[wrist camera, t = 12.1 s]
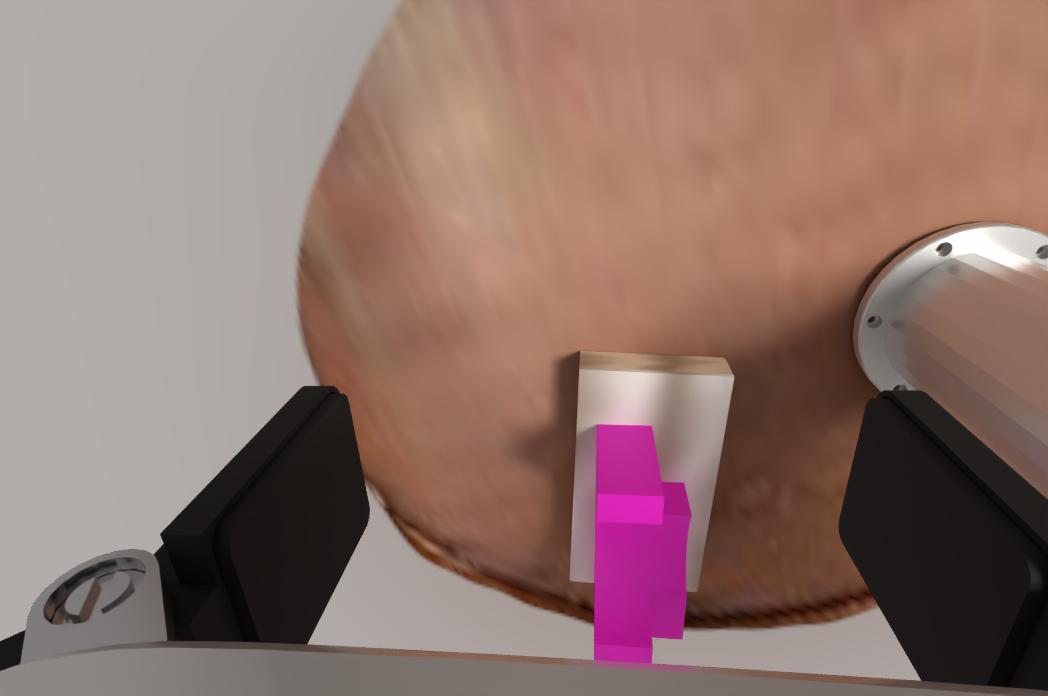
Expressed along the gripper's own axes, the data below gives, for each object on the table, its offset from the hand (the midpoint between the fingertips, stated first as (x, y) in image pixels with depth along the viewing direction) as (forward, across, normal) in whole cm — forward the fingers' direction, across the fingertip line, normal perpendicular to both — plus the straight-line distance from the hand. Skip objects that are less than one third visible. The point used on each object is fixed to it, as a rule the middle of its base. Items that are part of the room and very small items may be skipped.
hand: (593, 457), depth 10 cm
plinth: (+28, -4, +20) cm, 35 cm away
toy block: (+25, -4, +22) cm, 34 cm away
